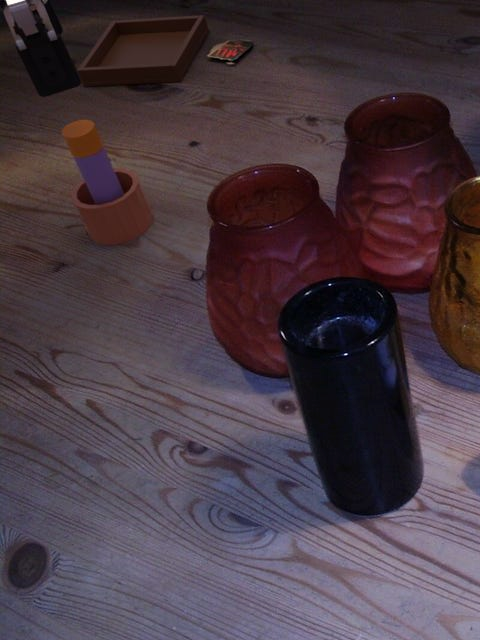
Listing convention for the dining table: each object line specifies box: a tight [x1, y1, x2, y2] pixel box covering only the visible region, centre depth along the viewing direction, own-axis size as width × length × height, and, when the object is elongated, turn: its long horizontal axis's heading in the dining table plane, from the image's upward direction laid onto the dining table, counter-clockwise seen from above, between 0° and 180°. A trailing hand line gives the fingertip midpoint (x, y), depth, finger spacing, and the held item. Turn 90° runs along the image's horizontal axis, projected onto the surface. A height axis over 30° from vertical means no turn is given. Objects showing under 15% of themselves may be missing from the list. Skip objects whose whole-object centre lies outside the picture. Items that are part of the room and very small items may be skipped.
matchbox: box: [206, 38, 254, 66], centre depth 111 cm, size 5×5×1 cm
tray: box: [76, 14, 210, 88], centre depth 112 cm, size 11×11×2 cm
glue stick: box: [61, 119, 124, 205], centre depth 86 cm, size 3×3×10 cm
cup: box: [71, 167, 155, 246], centre depth 89 cm, size 6×6×4 cm
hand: (52, 62), depth 79 cm, fingers open, 9 cm apart
